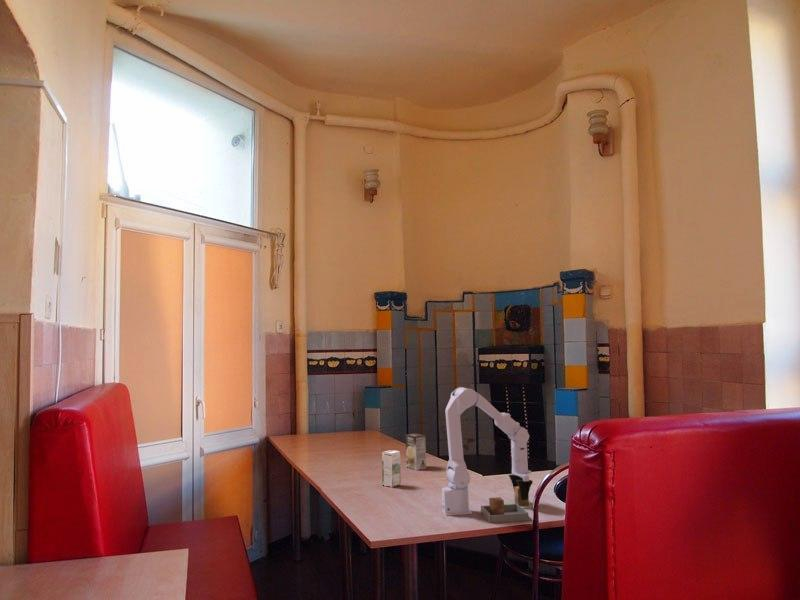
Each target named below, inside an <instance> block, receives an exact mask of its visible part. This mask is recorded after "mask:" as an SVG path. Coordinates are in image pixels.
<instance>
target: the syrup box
mask: <svg viewBox="0 0 800 600" xmlns="http://www.w3.org/2000/svg"><path fill="white" fill-rule="evenodd" d="M381 471H382V473H381V474H382V478H381V480H382V481H381V482H382V484H381V485H382V486H383V485H384V486H383V487H386V486H390V487H389V488H395V487H398V486H401V485H402V484H401V478H402V477H401V451H400V450H395V449H393V450H390V449H389V450H386V451H382V453H381ZM400 484H401V485H400ZM397 485H398V486H397ZM394 486H395V487H394Z"/></svg>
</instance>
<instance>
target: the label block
mask: <svg viewBox="0 0 800 600" xmlns="http://www.w3.org/2000/svg"><path fill="white" fill-rule="evenodd" d="M514 491H515V492H514ZM513 492H514V501H515V504H518V505H519V506H528V505H529V500H530V498H529V495H530V494H529V495H528V499H527V500H521V496H520V490H519V486H516V487H514V488H513Z"/></svg>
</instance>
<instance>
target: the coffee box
mask: <svg viewBox="0 0 800 600" xmlns="http://www.w3.org/2000/svg"><path fill="white" fill-rule="evenodd" d="M404 436H405V439H404V440H405V467H406V468H407V467H408V468H407V469H410V468H411V470H413V471H420V469H421V470H425V469H427V453H426V452H427V447H426V446H427V445H426V440H427V439H426V435H424V434H421V433H408V434H405V435H404Z"/></svg>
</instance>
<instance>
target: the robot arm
mask: <svg viewBox="0 0 800 600" xmlns="http://www.w3.org/2000/svg"><path fill="white" fill-rule="evenodd" d="M473 406H475V407H477V408H479V409H480V410H482V411H483V412H484V413H486V414H487V415H488V416H489V417H491V418H492V419H493V420H494V425H495V426H496V427H497V428H498V429H500V430H501V431H502V432H503V433H505V435H507V437H508V439H509V440H510V444H511V445H510V448H511V450H510V451H511V474H509V475H508V477H509V479H510V481H511V484H512V489H514V487H516V486H519V490H520V496H521V500H527V499H528V495H530V489H531V486H532V485H533V480H532V479H530V475H529V474H531V473H532V470H529V468H528V466H529V465H528V463H529V462H528V441H529V439H530V434H529V432H528V430H527V429H526V428H525V427H523V426H521V425H520V424H521V423H519V422H518V421H516V420H514V418H512V417H511V414H510V413H508V412H507V413H506V412H500V411H498V409H497V408H495V407H494V406H493V405H492V404H491V403H490V402H489V401H488V400H487V399H486V398H484V396H482V395H481V394H480V393H478V392H476V390H475V389H472V388H466V387H462V386H458V387H457V388H455V389H454V391H451V393H450V398H449V401H448V403H447V405H446V407H445V411H444V413H445V425H446V433H447V434H446V435H447V448H448V457H449V459H448V461H447V463H446V464H447V468H446V471H445V478H446V480H447V481H448V484H447V486H446V487H445V486H444V487H442V488H441V510H442V512H443V514H444V515H445V516H460V515H472V514H473V512H472V511H471V510H470V504H469V503H470V502H469V501H470V500H469V498H470V497H469V484H470V482H471V476H470V473H469V472H468V470H467V468H468V467H467V465H466V462H465V459H464V447H463V436H462V435H463V434H462V425H461V422H462V421H461V415H462V414H463V413H464V412H465V411H466V410H467V409H469V408H471V407H473ZM513 492H514V493H515V491H514V490H513Z"/></svg>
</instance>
